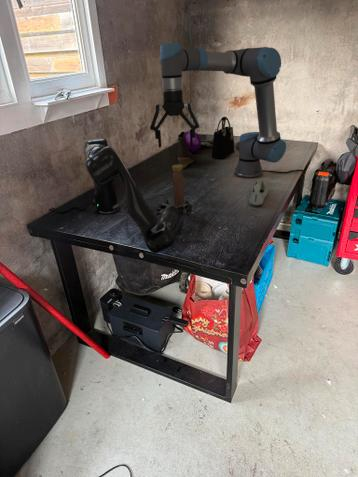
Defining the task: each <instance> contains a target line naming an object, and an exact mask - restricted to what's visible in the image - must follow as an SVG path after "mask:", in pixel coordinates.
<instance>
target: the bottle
mask: <svg viewBox="0 0 358 477" xmlns="http://www.w3.org/2000/svg"><path fill="white" fill-rule="evenodd" d="M184 184H185V183H184V174H183V172H182V170H180V171H173V174H172V192H173V204H174V205H173V206H179V205H184V204H185V187H184V186H185V185H184ZM184 209H185V207H184Z"/></svg>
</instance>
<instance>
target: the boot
mask: <svg viewBox="0 0 358 477" xmlns="http://www.w3.org/2000/svg"><path fill="white" fill-rule="evenodd" d="M185 132H186V131H180V133H179V134H178V135H177V140H176V141H177V142H178V143H177V144H178V147H177V148H178V149H177V161H178V164H179V165H182V168H183V169H185V168H187V166H189V165H190V164H192V163H193V162H195V156H194V155H193V154H194V153H191V152H190V151H189V148H188V144H187V140H186V135H185Z"/></svg>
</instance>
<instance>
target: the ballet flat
mask: <svg viewBox="0 0 358 477" xmlns="http://www.w3.org/2000/svg"><path fill="white" fill-rule="evenodd" d="M268 194H269V189H268V186H267V183H266V182H265V181H264V180H262V179H257V180H255V181H254V182H253V184H252V187H251V190H250V196H249V204H250V205H251V206H252V207H260V206H261V205H263V203H264V201H265V198H266V196H267V195H268Z"/></svg>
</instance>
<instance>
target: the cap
mask: <svg viewBox="0 0 358 477" xmlns="http://www.w3.org/2000/svg"><path fill="white" fill-rule="evenodd" d="M183 169H184V168H182V165H180V164H179V163H177V164H173V165H171V170H172V171H173V172H174V171H180V170H181V171H183Z"/></svg>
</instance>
